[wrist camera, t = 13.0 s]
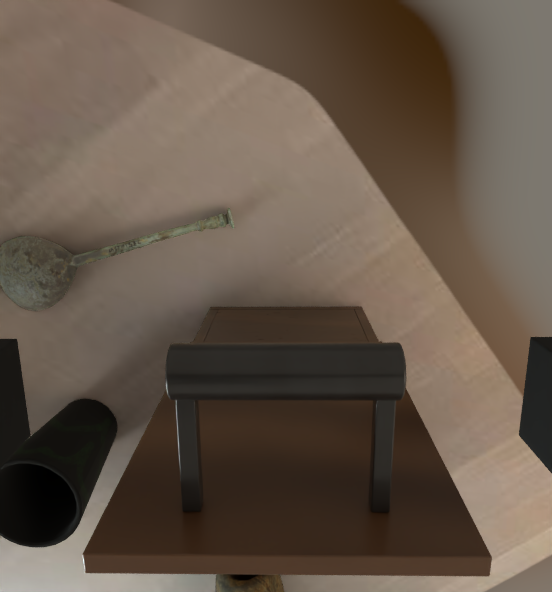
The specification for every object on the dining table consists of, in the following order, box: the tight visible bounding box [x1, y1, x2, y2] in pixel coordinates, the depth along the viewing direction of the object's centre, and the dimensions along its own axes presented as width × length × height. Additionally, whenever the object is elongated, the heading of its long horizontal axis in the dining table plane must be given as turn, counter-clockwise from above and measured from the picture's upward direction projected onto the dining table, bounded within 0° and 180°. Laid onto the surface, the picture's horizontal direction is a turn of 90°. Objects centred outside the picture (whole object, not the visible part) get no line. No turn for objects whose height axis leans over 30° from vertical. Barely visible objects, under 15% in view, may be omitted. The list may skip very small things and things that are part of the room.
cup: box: [0, 399, 117, 547], centre depth 45 cm, size 8×8×12 cm
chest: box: [193, 307, 379, 342], centre depth 45 cm, size 20×14×10 cm
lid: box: [83, 341, 492, 576], centre depth 27 cm, size 21×14×7 cm
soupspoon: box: [0, 208, 234, 311], centre depth 45 cm, size 22×3×7 cm
